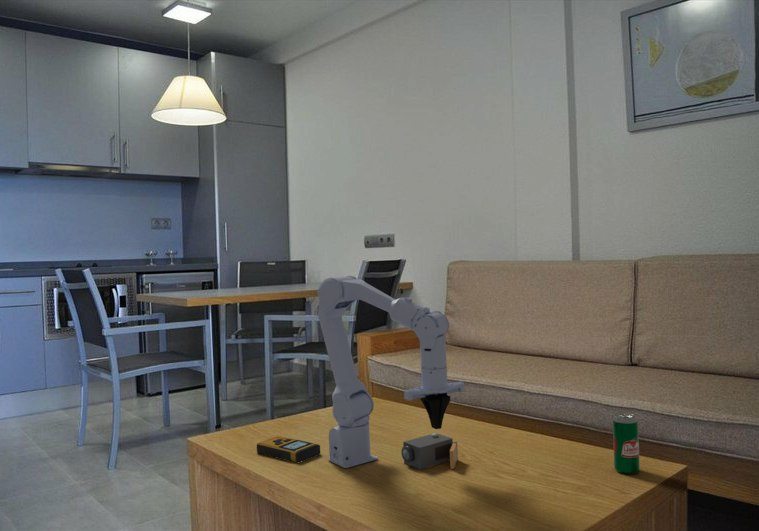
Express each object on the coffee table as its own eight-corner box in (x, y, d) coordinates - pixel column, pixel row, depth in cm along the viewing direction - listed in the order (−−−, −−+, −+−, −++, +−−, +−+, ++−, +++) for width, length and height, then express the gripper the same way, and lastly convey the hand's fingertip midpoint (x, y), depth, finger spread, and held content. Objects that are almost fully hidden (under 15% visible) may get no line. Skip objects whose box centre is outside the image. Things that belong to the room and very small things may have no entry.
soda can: (624, 476, 130) (622, 419, 130) (609, 468, 135) (607, 414, 134) (645, 473, 131) (642, 417, 131) (629, 465, 136) (627, 411, 136)
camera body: (417, 470, 139) (415, 446, 139) (400, 464, 144) (399, 440, 144) (453, 459, 145) (452, 435, 145) (436, 453, 150) (435, 430, 150)
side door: (454, 469, 138) (453, 450, 138) (450, 469, 139) (449, 450, 139) (458, 459, 145) (457, 441, 145) (453, 459, 145) (453, 441, 145)
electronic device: (279, 446, 164) (278, 433, 164) (321, 455, 154) (321, 442, 154) (254, 455, 157) (253, 441, 157) (297, 465, 147) (296, 451, 147)
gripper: (413, 373, 130) (416, 437, 131) (471, 365, 137) (473, 426, 137) (398, 368, 137) (401, 429, 137) (454, 361, 143) (456, 419, 143)
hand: (436, 427), depth 137 cm, fingers closed
